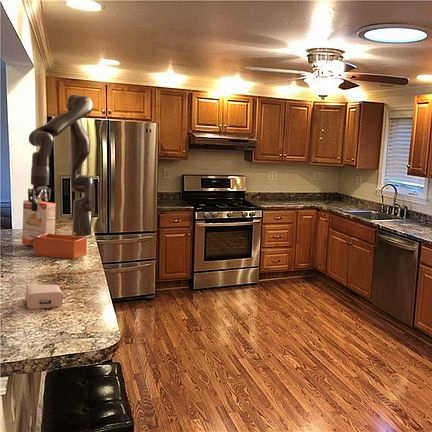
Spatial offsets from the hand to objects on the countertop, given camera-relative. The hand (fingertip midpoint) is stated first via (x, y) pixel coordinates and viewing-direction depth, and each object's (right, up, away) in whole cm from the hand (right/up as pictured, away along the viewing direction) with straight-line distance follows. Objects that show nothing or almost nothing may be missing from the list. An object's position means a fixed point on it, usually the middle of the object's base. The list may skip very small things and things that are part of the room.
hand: (39, 210), depth 216 cm
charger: (+39, -30, -71) cm, 86 cm away
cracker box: (-1, -17, +2) cm, 17 cm away
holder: (+14, -20, -9) cm, 26 cm away
